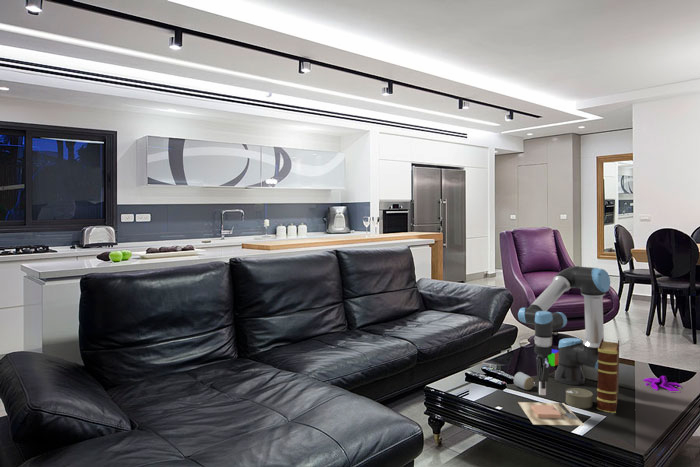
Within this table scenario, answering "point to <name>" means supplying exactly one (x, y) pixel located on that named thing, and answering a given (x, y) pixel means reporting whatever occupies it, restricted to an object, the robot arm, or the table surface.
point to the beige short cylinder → (579, 397)
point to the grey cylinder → (523, 381)
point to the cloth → (661, 383)
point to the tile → (545, 411)
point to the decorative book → (608, 376)
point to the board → (549, 421)
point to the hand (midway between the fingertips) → (542, 394)
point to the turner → (568, 414)
